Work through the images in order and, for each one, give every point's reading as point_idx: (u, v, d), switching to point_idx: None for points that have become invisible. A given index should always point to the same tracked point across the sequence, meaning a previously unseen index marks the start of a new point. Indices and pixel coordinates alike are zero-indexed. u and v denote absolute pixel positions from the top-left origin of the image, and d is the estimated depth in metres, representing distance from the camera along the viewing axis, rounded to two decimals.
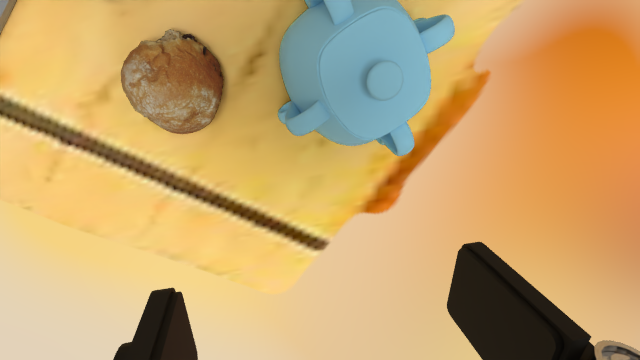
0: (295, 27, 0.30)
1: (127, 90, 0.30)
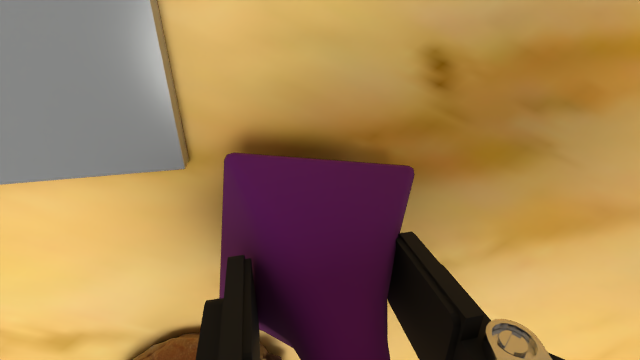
0: None
1: None
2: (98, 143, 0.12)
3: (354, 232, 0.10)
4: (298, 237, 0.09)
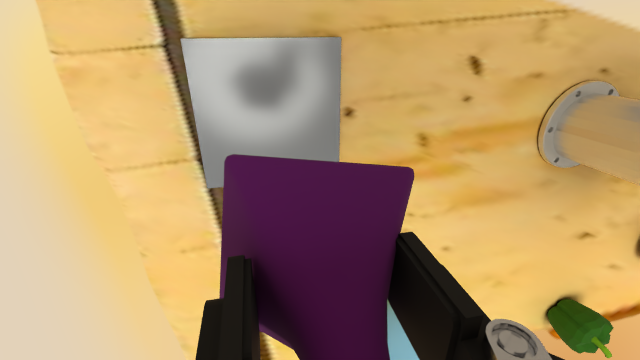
0: None
1: None
2: None
3: (354, 234, 0.10)
4: (298, 238, 0.09)
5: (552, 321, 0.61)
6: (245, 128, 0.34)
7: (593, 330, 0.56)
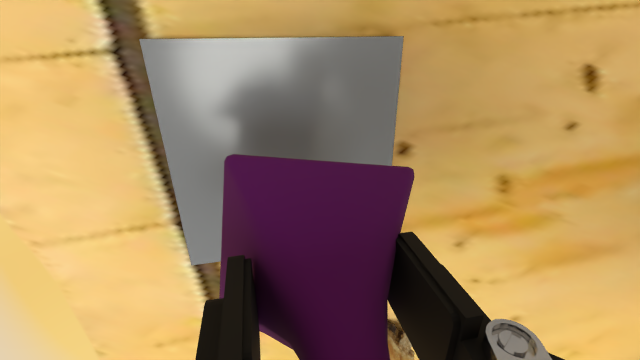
0: None
1: None
2: None
3: (354, 234, 0.10)
4: (298, 239, 0.09)
5: None
6: None
7: None
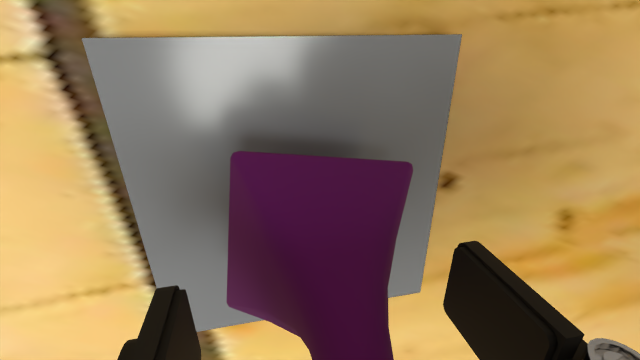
0: None
1: None
2: None
3: (355, 225, 0.10)
4: (302, 230, 0.10)
5: None
6: None
7: None
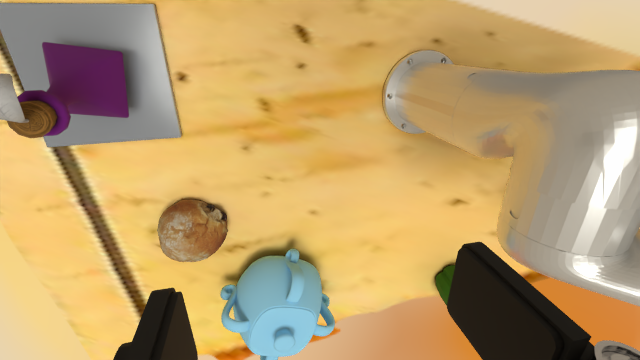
0: (270, 270, 0.49)
1: (167, 225, 0.44)
2: (155, 129, 0.41)
3: (78, 63, 0.32)
4: (57, 62, 0.31)
5: (437, 286, 0.65)
6: None
7: None
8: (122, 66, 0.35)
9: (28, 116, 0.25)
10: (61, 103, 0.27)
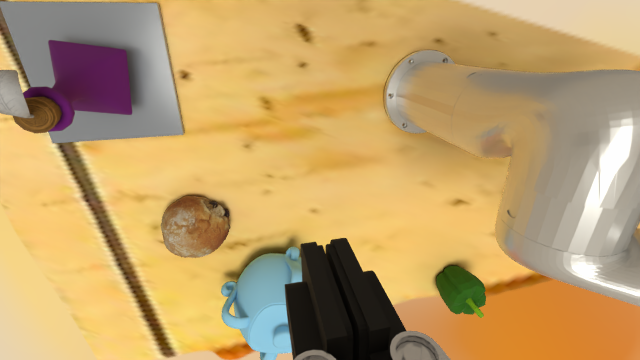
0: (270, 267, 0.49)
1: (170, 221, 0.44)
2: (158, 126, 0.42)
3: (83, 60, 0.32)
4: (63, 59, 0.32)
5: (437, 286, 0.65)
6: None
7: (464, 291, 0.59)
8: (126, 64, 0.35)
9: (33, 112, 0.26)
10: (65, 99, 0.27)
